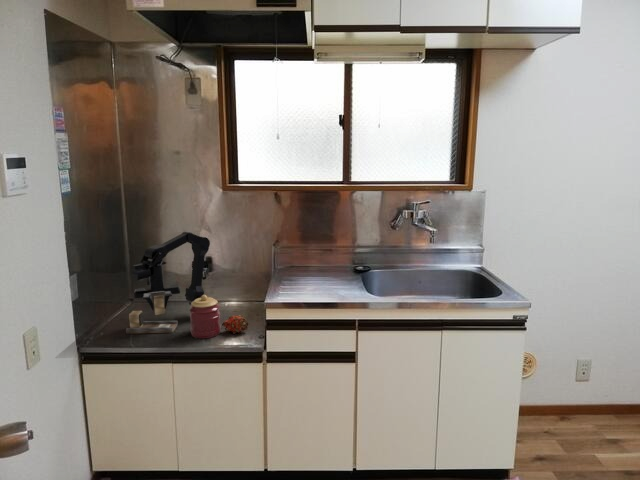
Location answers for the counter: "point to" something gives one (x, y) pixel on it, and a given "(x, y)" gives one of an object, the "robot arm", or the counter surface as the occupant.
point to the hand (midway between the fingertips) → (159, 309)
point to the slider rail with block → (148, 324)
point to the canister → (205, 317)
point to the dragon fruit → (236, 324)
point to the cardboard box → (158, 305)
